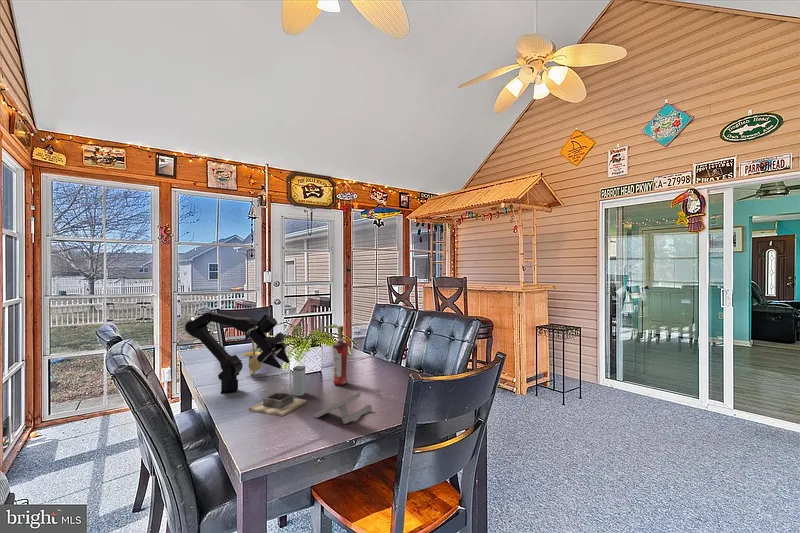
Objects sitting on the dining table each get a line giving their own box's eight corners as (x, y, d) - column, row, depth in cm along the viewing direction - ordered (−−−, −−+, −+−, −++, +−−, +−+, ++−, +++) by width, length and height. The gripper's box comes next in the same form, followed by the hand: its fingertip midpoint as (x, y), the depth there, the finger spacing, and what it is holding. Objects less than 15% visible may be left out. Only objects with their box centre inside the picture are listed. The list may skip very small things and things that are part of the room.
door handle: (320, 435, 144) (355, 419, 134) (312, 414, 147) (346, 397, 137) (352, 419, 159) (385, 403, 149) (344, 400, 161) (377, 383, 151)
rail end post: (292, 395, 171) (292, 368, 171) (296, 392, 175) (296, 365, 175) (301, 395, 171) (302, 368, 171) (305, 392, 175) (305, 366, 175)
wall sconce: (264, 376, 200) (265, 328, 200) (245, 379, 195) (245, 329, 195) (258, 370, 212) (259, 324, 212) (240, 372, 207) (240, 326, 207)
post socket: (248, 410, 153) (248, 400, 153) (275, 397, 168) (275, 388, 168) (282, 416, 148) (282, 405, 148) (306, 402, 162) (306, 392, 162)
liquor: (329, 384, 188) (329, 326, 188) (341, 380, 193) (341, 324, 193) (338, 387, 183) (339, 328, 183) (350, 384, 188) (351, 326, 188)
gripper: (264, 331, 165) (288, 357, 164) (282, 324, 184) (304, 348, 182) (246, 349, 166) (271, 375, 165) (266, 340, 185) (288, 364, 183)
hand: (284, 365), depth 174 cm, fingers open, 9 cm apart
